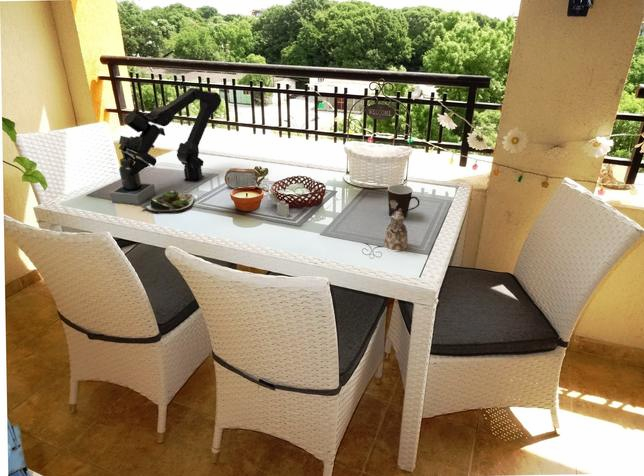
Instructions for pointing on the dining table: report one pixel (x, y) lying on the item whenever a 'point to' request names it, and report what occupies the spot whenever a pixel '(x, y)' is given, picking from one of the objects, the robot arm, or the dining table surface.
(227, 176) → the tin
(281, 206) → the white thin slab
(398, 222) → the figurine
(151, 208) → the salad plate
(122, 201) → the square tray
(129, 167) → the supplement bottle
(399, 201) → the coffee mug
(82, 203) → the dining table surface
